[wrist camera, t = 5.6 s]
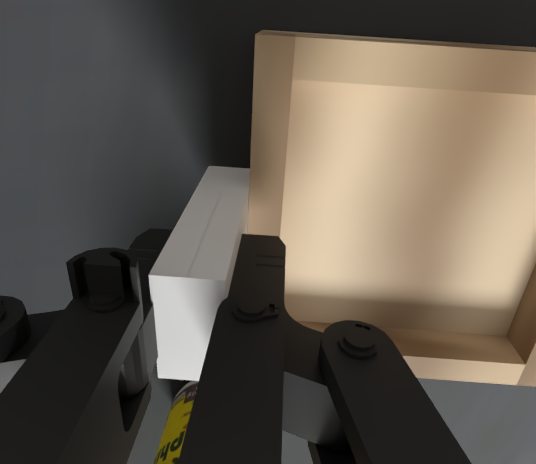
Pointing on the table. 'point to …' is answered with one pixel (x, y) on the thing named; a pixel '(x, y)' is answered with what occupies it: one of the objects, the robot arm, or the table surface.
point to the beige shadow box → (403, 193)
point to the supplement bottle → (176, 425)
